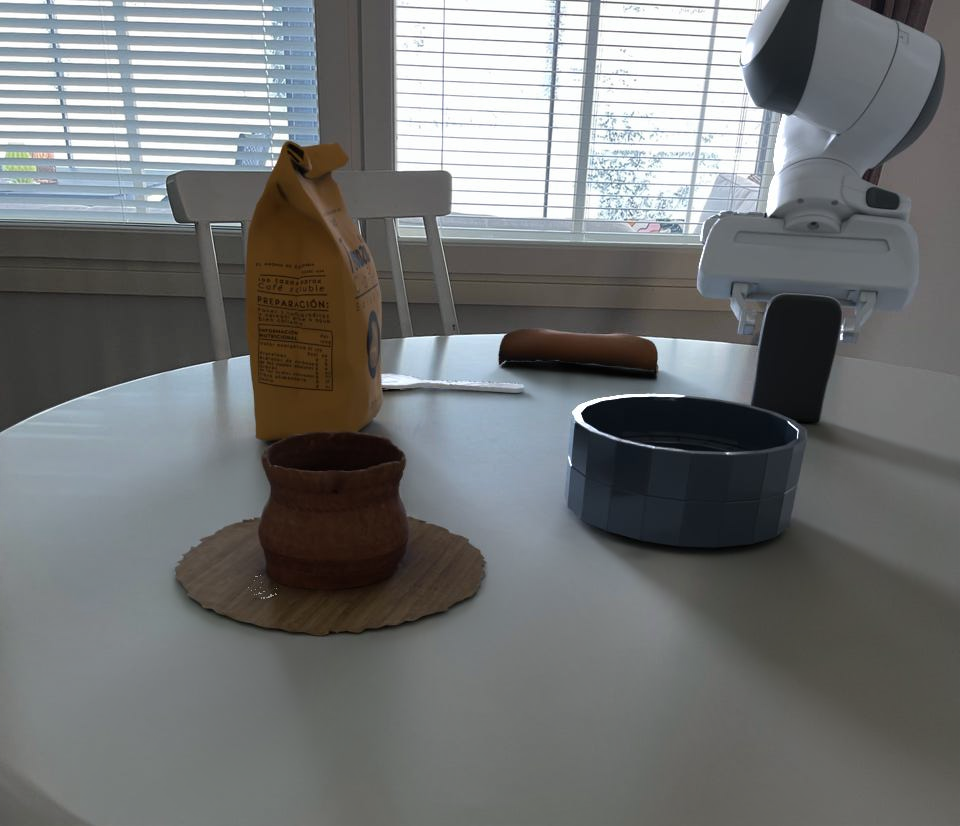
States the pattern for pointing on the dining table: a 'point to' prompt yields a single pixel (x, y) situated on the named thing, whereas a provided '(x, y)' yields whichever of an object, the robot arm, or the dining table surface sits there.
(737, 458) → the faceted round bowl
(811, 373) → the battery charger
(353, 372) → the coffee package
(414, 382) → the spoon
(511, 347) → the sunglasses case
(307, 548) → the ceramic pot
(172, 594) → the dining table surface
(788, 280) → the robot arm
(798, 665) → the dining table surface
